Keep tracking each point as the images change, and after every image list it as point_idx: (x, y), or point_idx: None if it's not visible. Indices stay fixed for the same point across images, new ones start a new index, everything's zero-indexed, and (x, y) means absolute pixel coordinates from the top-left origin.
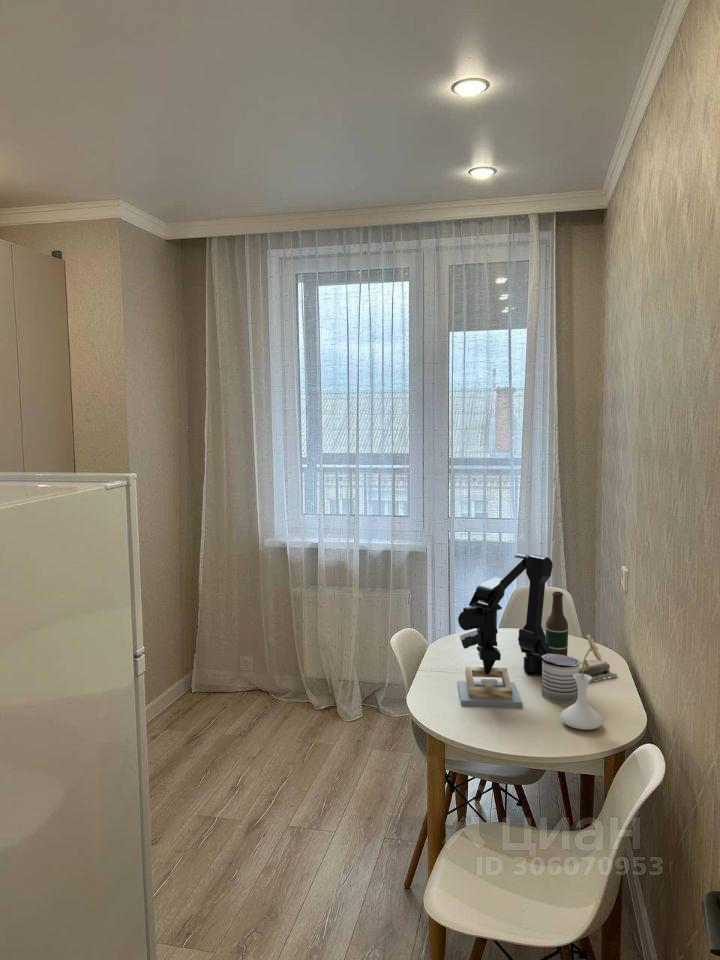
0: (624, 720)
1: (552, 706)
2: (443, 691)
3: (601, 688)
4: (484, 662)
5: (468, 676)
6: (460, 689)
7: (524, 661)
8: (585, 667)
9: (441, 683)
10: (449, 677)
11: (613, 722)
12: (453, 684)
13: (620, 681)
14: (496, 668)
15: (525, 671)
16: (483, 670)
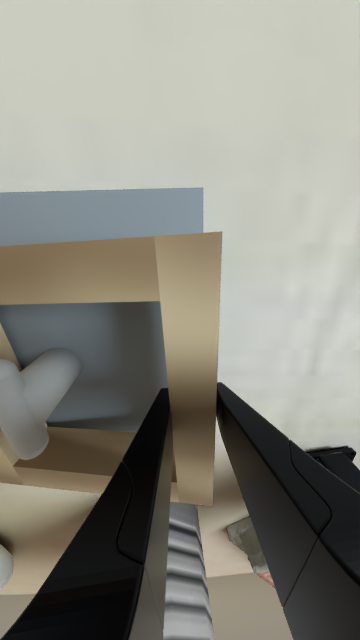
0: (43, 583)
1: (67, 503)
2: (72, 75)
3: (208, 554)
4: (91, 521)
5: (32, 261)
6: (42, 203)
7: (358, 491)
8: (274, 587)
9: (221, 68)
10: (319, 147)
11: (22, 575)
12: (208, 171)
13: (246, 568)
14: (203, 466)
15: (324, 451)
16: (170, 392)
